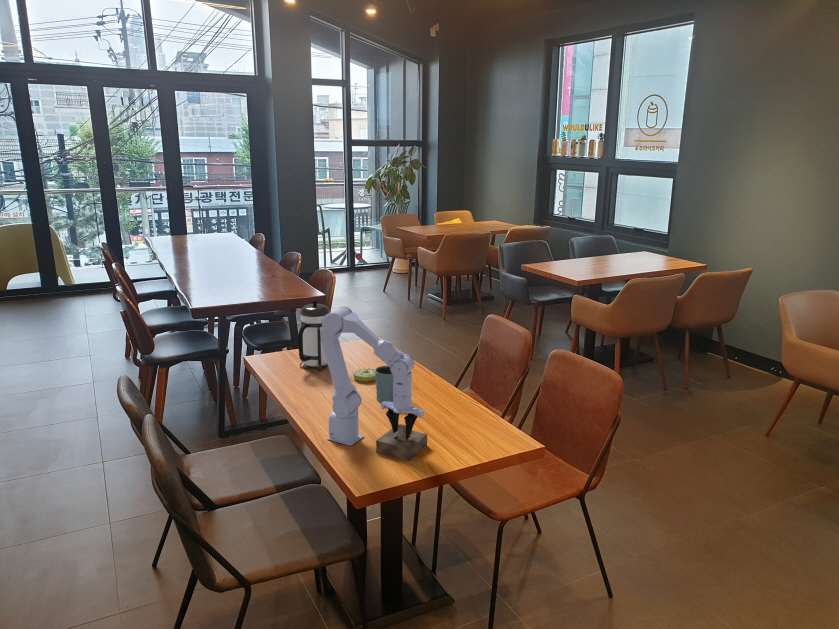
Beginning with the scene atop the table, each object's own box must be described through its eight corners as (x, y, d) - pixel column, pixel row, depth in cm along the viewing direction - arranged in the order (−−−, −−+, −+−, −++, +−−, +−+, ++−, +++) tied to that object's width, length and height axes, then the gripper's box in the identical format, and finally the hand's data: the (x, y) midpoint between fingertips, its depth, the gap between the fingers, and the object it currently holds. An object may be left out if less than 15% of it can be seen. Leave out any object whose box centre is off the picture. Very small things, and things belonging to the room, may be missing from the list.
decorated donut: (383, 377, 266) (383, 368, 265) (372, 385, 257) (372, 376, 256) (361, 373, 270) (361, 365, 269) (349, 381, 260) (349, 373, 259)
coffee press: (294, 362, 282) (292, 296, 274) (330, 359, 287) (329, 294, 279) (299, 375, 266) (297, 306, 258) (337, 371, 271) (336, 303, 263)
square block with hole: (376, 451, 201) (376, 440, 200) (395, 437, 211) (395, 426, 210) (409, 460, 195) (409, 449, 194) (427, 445, 206) (427, 434, 204)
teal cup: (370, 400, 241) (369, 371, 237) (383, 392, 249) (383, 363, 246) (393, 406, 236) (393, 376, 233) (406, 397, 245) (406, 368, 242)
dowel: (396, 449, 203) (396, 426, 201) (400, 446, 205) (400, 423, 203) (403, 451, 201) (403, 428, 199) (407, 448, 204) (407, 425, 201)
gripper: (376, 393, 198) (376, 432, 202) (416, 402, 191) (416, 443, 195) (387, 386, 204) (387, 424, 208) (427, 394, 197) (426, 434, 201)
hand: (402, 433), depth 202 cm, fingers open, 4 cm apart
